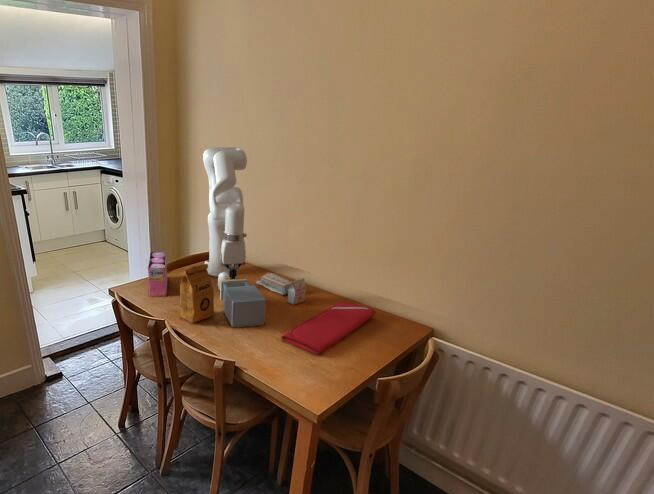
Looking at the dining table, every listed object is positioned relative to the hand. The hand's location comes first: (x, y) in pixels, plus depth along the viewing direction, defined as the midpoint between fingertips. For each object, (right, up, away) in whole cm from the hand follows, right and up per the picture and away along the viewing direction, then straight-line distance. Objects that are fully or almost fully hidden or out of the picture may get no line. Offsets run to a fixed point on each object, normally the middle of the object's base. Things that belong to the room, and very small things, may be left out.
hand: (232, 278), depth 177 cm
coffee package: (-15, -17, -12) cm, 26 cm away
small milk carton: (+28, -10, +1) cm, 29 cm away
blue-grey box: (+3, -17, -13) cm, 21 cm away
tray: (+1, -11, -2) cm, 11 cm away
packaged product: (+22, -4, +15) cm, 27 cm away
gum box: (-33, -3, +18) cm, 38 cm away
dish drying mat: (+35, -21, -22) cm, 46 cm away
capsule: (-3, -4, +14) cm, 15 cm away
